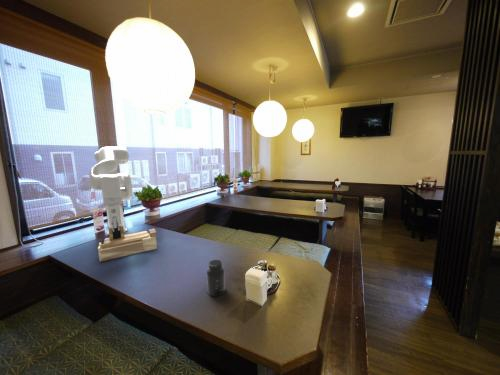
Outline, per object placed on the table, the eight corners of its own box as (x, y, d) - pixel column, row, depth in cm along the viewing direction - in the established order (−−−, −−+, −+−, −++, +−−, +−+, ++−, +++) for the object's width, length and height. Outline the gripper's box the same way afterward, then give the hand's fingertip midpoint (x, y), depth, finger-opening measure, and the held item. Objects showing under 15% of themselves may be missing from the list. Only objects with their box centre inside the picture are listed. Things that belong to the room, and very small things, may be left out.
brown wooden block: (149, 233, 122) (148, 229, 122) (154, 232, 124) (154, 228, 123) (150, 237, 116) (150, 233, 116) (156, 236, 118) (156, 232, 117)
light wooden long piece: (101, 255, 111) (99, 242, 110) (154, 243, 125) (153, 232, 124) (99, 261, 104) (97, 248, 103) (157, 248, 118) (155, 236, 117)
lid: (105, 240, 102) (103, 226, 101) (146, 232, 112) (145, 220, 111) (103, 246, 95) (101, 232, 94) (148, 237, 105) (147, 224, 104)
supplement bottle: (204, 291, 80) (202, 262, 78) (218, 283, 84) (217, 256, 82) (214, 299, 75) (212, 269, 73) (228, 291, 79) (227, 262, 78)
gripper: (122, 202, 93) (126, 240, 96) (122, 197, 107) (125, 230, 110) (102, 205, 89) (107, 244, 92) (104, 199, 103) (109, 233, 106)
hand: (117, 236), depth 101 cm, fingers closed on lid, 3 cm apart
